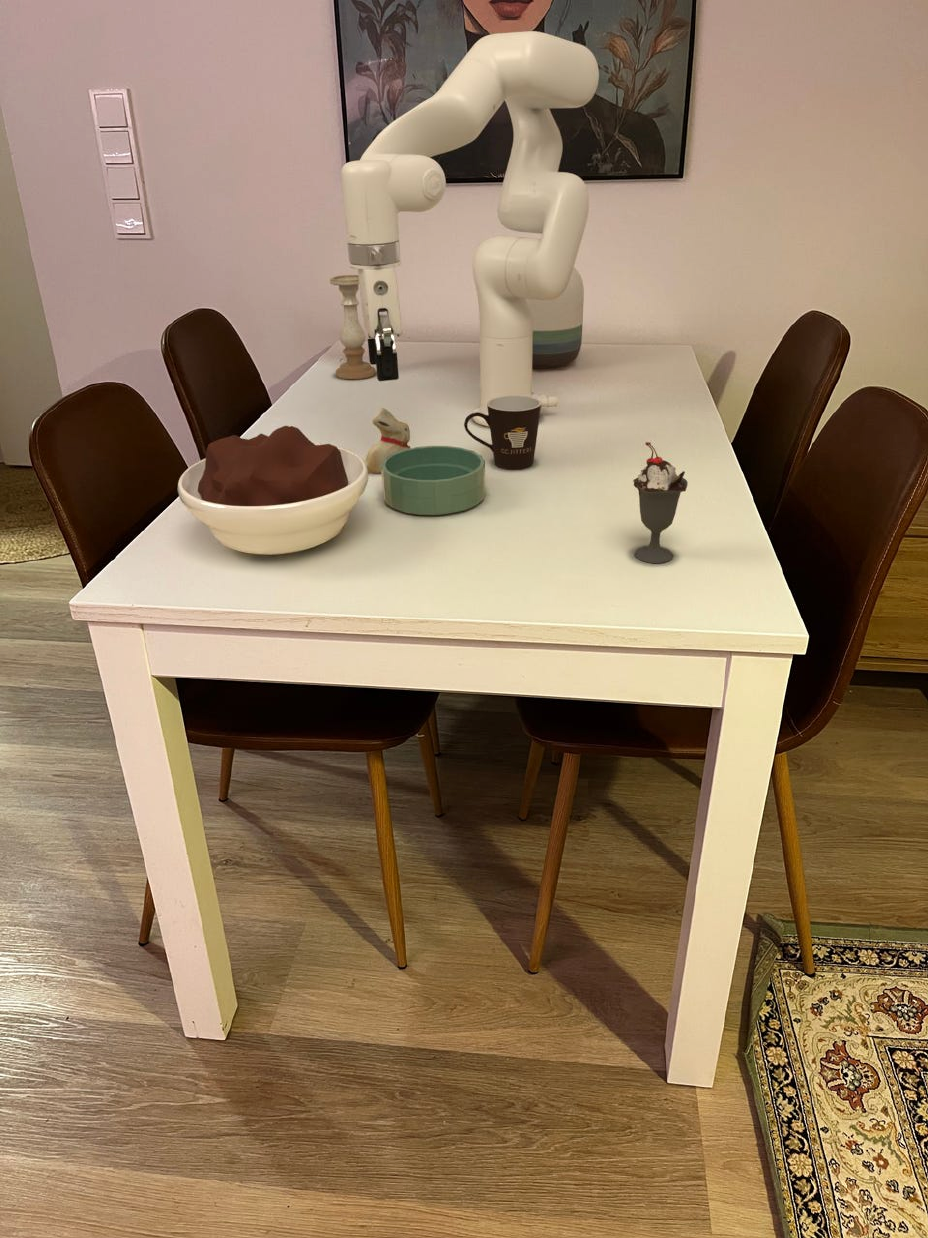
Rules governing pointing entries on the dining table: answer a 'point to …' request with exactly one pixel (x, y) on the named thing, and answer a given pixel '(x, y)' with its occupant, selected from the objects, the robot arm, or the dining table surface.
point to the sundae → (658, 504)
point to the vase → (558, 326)
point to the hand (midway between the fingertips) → (383, 371)
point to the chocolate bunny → (387, 440)
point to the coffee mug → (511, 430)
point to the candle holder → (352, 331)
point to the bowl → (433, 480)
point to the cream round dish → (273, 491)
